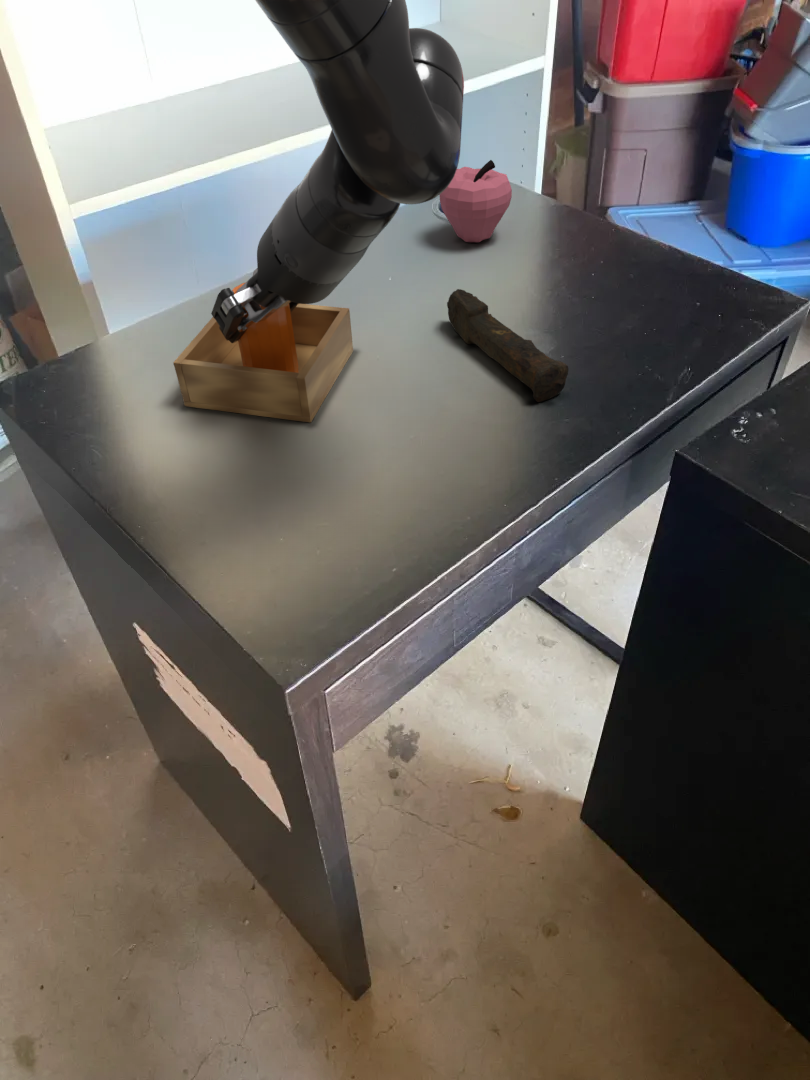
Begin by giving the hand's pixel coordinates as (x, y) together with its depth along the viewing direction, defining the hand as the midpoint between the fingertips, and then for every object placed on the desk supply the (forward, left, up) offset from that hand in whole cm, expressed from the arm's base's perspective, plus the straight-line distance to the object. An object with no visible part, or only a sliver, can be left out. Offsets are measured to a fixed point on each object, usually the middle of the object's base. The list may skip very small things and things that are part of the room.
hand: (253, 321), depth 83 cm
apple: (+15, +36, -6) cm, 40 cm away
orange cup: (+2, -1, -5) cm, 6 cm away
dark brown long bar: (+23, +7, -6) cm, 25 cm away
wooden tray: (+1, -1, -6) cm, 6 cm away
